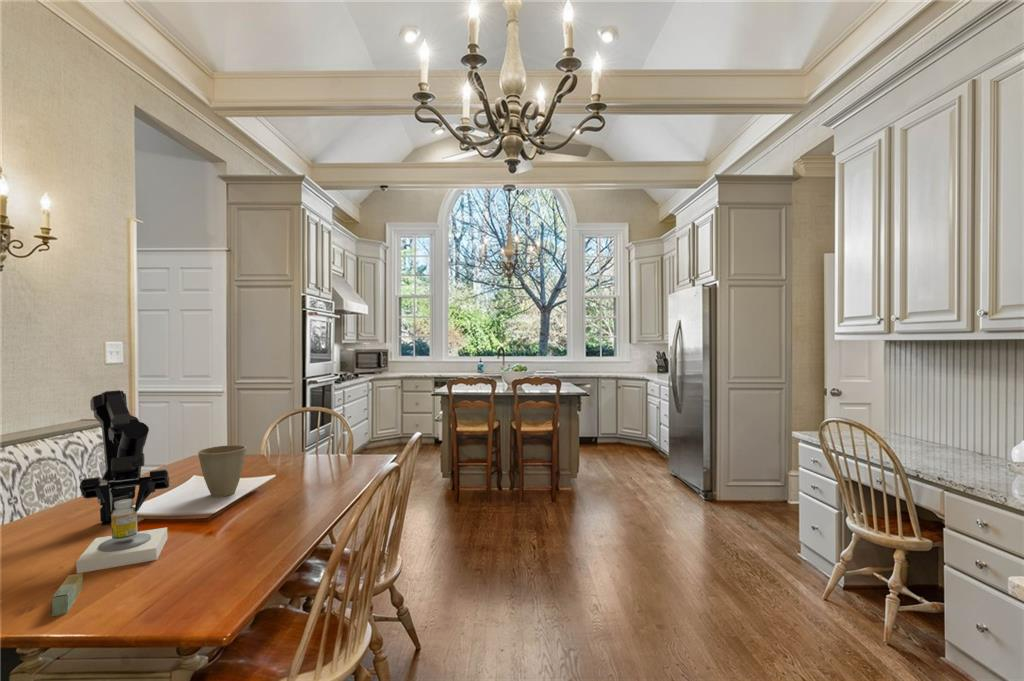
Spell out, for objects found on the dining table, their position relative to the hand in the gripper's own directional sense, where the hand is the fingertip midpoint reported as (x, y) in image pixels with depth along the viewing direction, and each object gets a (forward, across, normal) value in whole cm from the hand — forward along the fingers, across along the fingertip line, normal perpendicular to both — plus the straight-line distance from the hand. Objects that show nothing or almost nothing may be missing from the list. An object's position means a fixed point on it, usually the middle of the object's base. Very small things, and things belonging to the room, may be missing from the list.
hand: (122, 512), depth 135 cm
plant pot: (-26, +21, +42) cm, 54 cm away
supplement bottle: (+4, 0, +6) cm, 7 cm away
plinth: (+7, 0, +9) cm, 11 cm away
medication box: (+24, -6, -8) cm, 26 cm away
